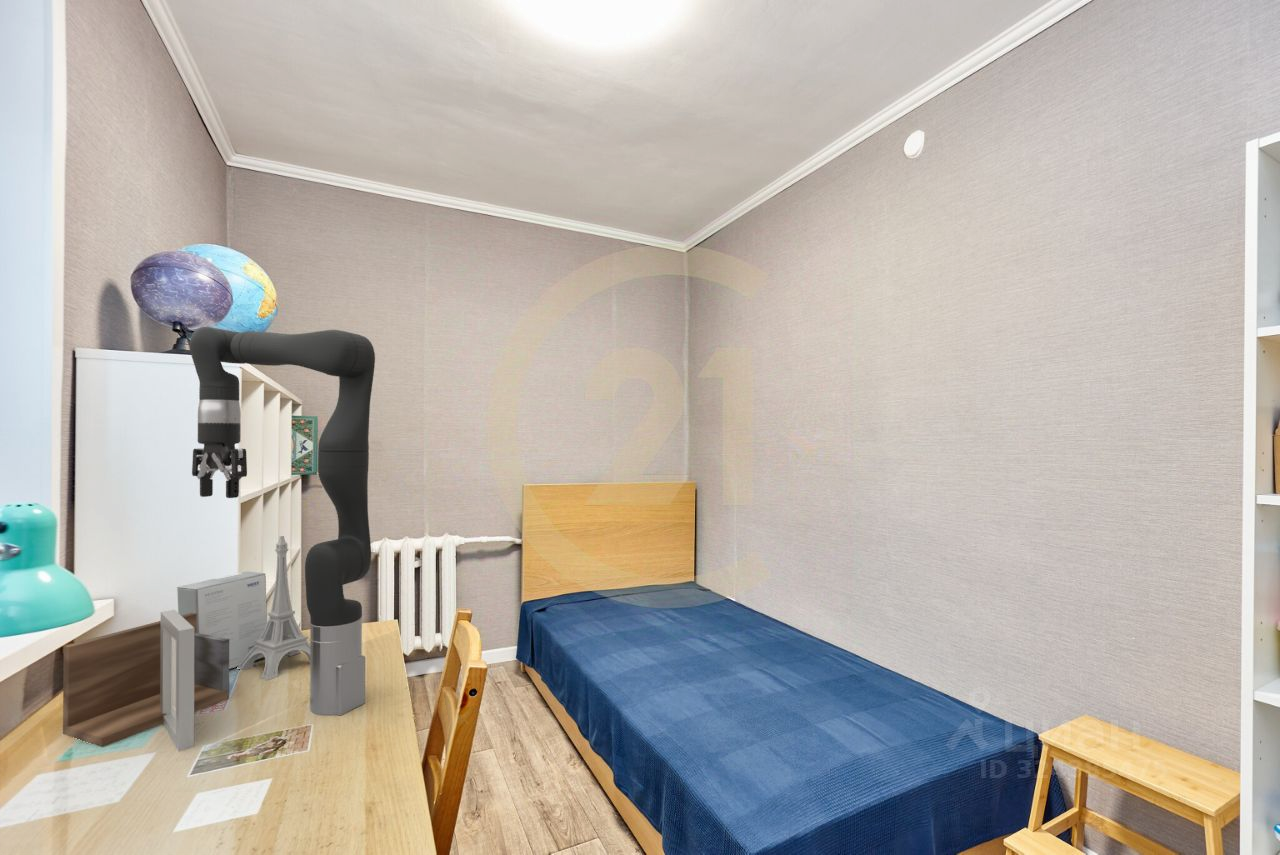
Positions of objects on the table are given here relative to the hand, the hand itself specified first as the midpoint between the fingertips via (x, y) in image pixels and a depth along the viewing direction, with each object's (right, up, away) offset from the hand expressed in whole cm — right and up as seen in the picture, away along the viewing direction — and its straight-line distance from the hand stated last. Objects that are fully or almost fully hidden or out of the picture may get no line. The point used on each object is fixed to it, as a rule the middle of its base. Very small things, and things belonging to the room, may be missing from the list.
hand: (219, 497), depth 126 cm
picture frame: (+8, -41, -21) cm, 46 cm away
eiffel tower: (+7, -41, +11) cm, 43 cm away
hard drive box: (-5, -40, +10) cm, 42 cm away
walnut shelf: (-2, -40, -15) cm, 43 cm away
